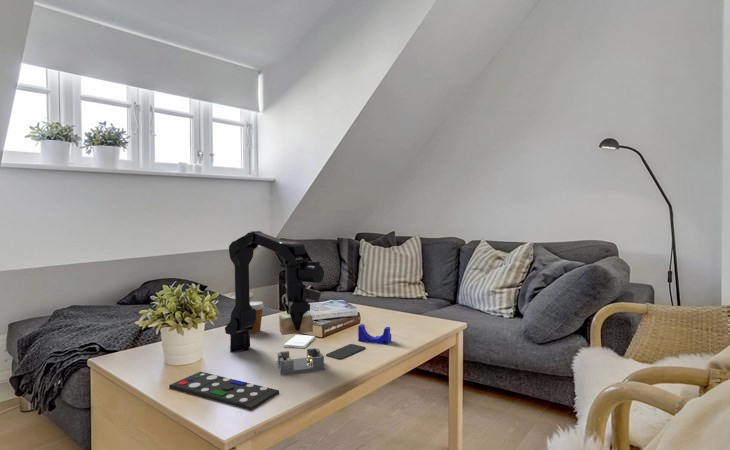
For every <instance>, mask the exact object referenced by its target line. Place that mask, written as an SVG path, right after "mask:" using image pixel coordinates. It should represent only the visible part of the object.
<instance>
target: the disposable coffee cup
mask: <svg viewBox="0 0 730 450" xmlns="http://www.w3.org/2000/svg"><path fill="white" fill-rule="evenodd" d="M250 305H251V307H252V308H253V309H255V310H256V320H255V324H254V326H253V329H252V330H250V331H248V334H250V335H252V334H253V335H254V334H258V333H260V332H261V328H262V319H263V318H262V317H263V310H264V307H265V305H264V303H263V301H260V300H251V301H250Z"/></svg>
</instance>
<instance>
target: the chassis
mask: <svg viewBox="0 0 730 450" xmlns="http://www.w3.org/2000/svg"><path fill="white" fill-rule="evenodd" d="M276 366H277V369H278V371H279V375H280V376H285V375H293V374H301V373H308V372H317V371H318V372H319V371H325V370H326V366H325V356H324V355H323V353H321V350H320V349H319V348H316V347H313V348H312V347H311V348H307V349H306V357H300V358H292V357H290V351H289V350H286V351H284V350H283V351H279V352H277V360H276Z"/></svg>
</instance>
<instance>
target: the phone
mask: <svg viewBox="0 0 730 450" xmlns="http://www.w3.org/2000/svg"><path fill="white" fill-rule="evenodd" d="M364 350H366V347H365V346H362V345H360V344H354V343H350V344H347V345H344V346H342V347H339V348H337V349H334V350H332V351H330V352H328V353H326V354H325V356H326V357H327V358H332V359H335V360H344V359H347V358H348V357H351V356H354V355H355V354H357V353H359V352H363V351H364Z"/></svg>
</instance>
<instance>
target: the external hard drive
mask: <svg viewBox="0 0 730 450" xmlns="http://www.w3.org/2000/svg"><path fill="white" fill-rule="evenodd" d="M315 339H316V336H315V335H305V334H304V335H303V334H294V336H292V338H290V339H289V340H288V341H286V343H284V344H283V348H289V347H291V348H292V347H294V348H293V349H303V348H304V349H305V348H307V346H309V345H310V344H311V343H312V342H313V341H314V340H315ZM310 342H311V343H310ZM309 343H310V344H309ZM308 344H309V345H308ZM291 348H290V349H291Z"/></svg>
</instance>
